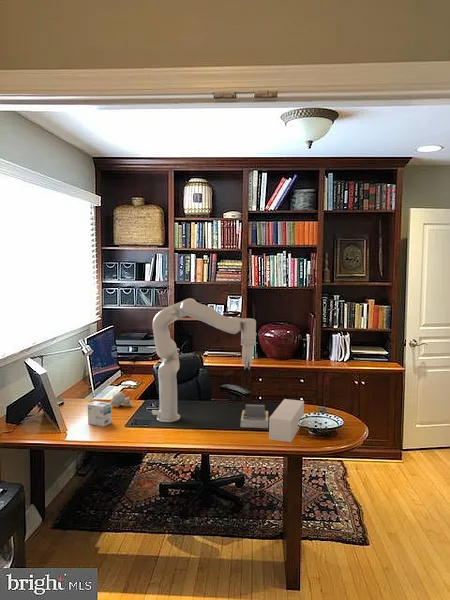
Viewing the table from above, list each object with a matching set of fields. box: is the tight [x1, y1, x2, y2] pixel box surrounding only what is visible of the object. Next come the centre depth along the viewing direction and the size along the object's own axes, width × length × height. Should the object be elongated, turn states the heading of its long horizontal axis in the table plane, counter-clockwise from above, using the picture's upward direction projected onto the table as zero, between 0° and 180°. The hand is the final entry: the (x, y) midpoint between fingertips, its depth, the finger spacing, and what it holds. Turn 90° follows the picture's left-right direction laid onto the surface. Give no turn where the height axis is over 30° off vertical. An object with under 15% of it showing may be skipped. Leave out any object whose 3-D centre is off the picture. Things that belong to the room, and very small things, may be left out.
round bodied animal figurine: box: [109, 391, 133, 408], centre depth 274 cm, size 7×12×8 cm, turn 84°
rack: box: [240, 409, 269, 429], centre depth 247 cm, size 14×16×4 cm
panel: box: [245, 403, 266, 417], centre depth 247 cm, size 10×2×8 cm, turn 84°
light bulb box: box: [87, 400, 113, 428], centre depth 245 cm, size 11×7×11 cm, turn 65°
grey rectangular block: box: [268, 398, 305, 443], centre depth 237 cm, size 32×11×11 cm, turn 160°
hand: (246, 376), depth 248 cm, fingers closed
